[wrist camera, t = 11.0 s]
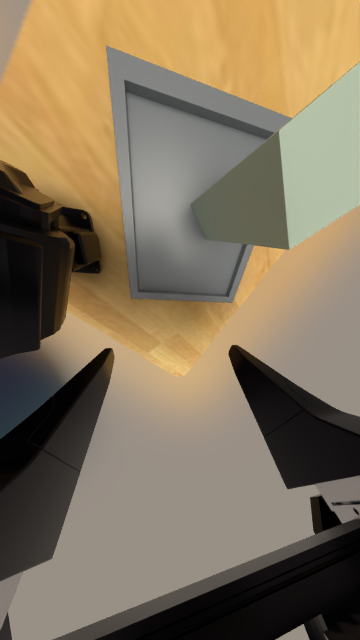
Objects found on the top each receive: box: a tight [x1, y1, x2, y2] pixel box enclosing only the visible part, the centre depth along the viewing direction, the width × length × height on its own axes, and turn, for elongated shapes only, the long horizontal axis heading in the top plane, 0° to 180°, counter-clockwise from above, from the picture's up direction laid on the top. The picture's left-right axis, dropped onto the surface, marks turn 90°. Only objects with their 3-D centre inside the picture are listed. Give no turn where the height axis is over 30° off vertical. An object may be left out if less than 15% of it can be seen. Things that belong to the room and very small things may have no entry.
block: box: [191, 62, 360, 250], centre depth 10 cm, size 4×4×12 cm
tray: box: [106, 46, 292, 303], centre depth 16 cm, size 16×18×2 cm
